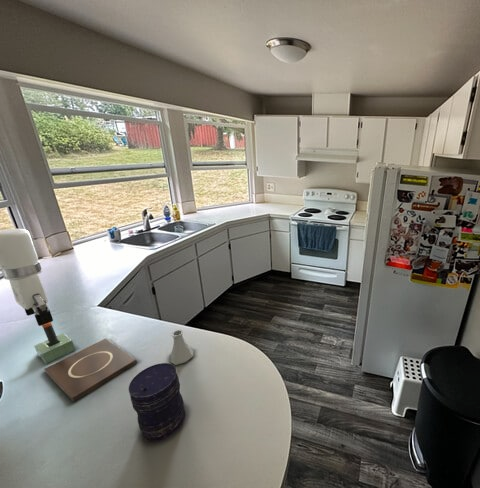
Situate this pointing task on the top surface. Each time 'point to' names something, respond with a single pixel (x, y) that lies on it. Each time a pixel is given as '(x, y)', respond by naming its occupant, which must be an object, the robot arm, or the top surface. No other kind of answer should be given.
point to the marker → (50, 333)
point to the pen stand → (54, 348)
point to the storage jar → (157, 401)
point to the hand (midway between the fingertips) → (40, 318)
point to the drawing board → (89, 368)
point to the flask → (180, 349)
